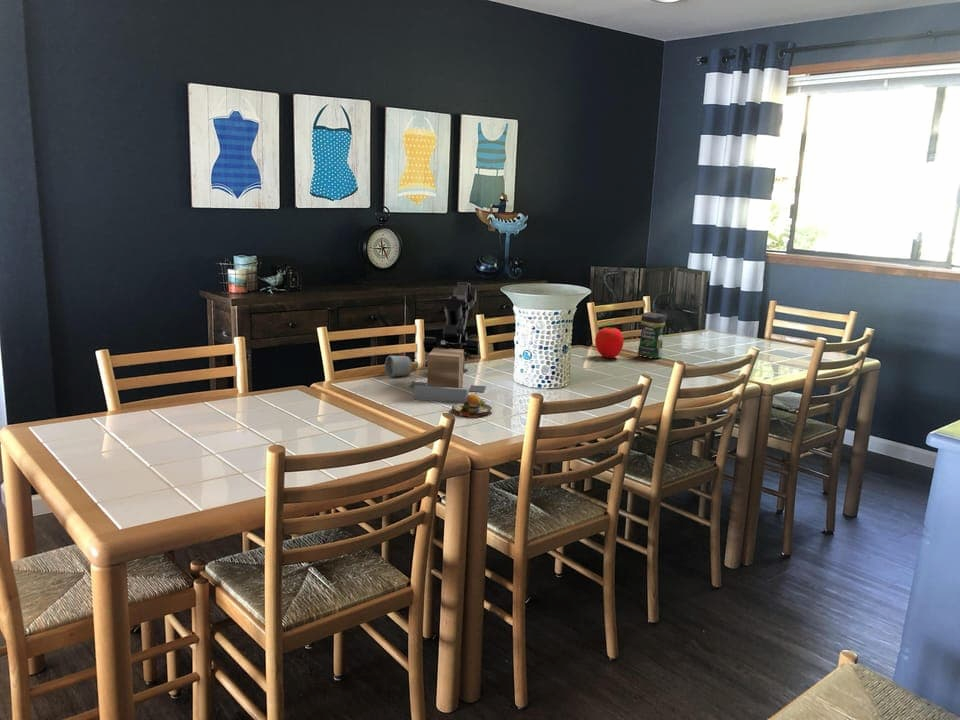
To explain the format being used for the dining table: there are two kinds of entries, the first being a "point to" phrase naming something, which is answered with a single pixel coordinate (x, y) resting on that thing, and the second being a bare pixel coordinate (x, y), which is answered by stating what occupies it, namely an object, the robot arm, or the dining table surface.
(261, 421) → the dining table surface
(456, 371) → the walnut block
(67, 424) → the dining table surface
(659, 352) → the coffee jar
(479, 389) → the mats
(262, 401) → the dining table surface
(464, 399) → the grey t-shaped block
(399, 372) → the ceramic mug
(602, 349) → the red apple
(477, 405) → the burger
